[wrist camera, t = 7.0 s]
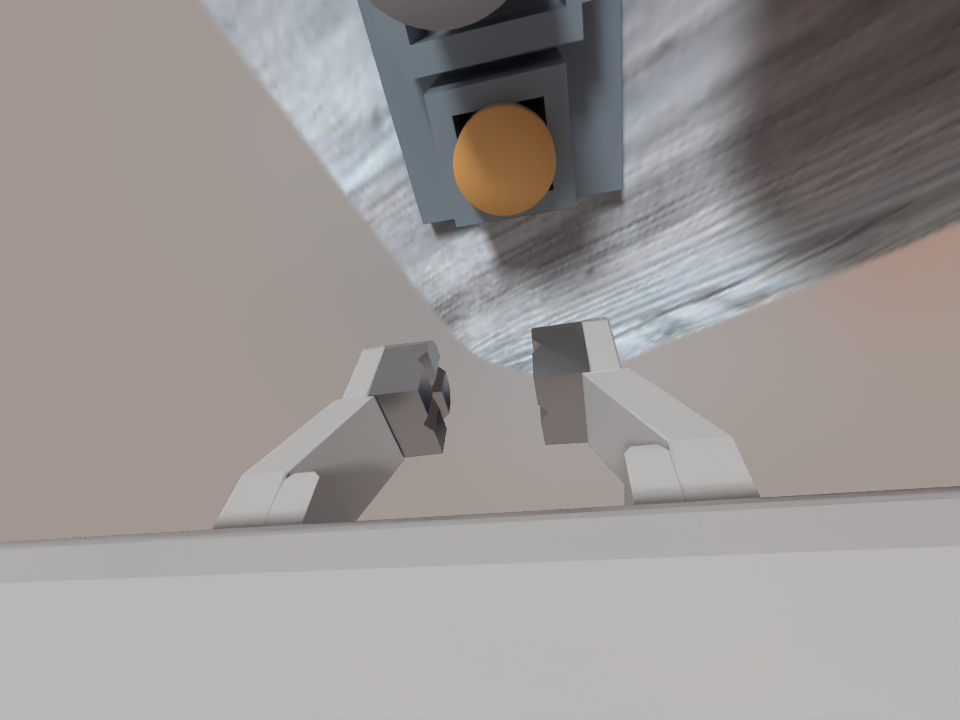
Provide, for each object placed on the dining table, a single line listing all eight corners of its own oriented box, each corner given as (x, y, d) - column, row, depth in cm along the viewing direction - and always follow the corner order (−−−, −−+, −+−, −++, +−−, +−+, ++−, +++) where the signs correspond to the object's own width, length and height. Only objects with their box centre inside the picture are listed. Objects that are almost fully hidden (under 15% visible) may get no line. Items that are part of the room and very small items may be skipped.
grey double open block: (305, -210, 19) (228, -278, 14) (610, -322, 17) (650, -451, 12) (427, 214, 30) (408, 262, 25) (618, 180, 28) (640, 225, 23)
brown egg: (456, 91, 23) (441, 121, 19) (543, 72, 23) (550, 97, 18) (474, 178, 26) (465, 223, 21) (552, 163, 25) (560, 206, 21)
